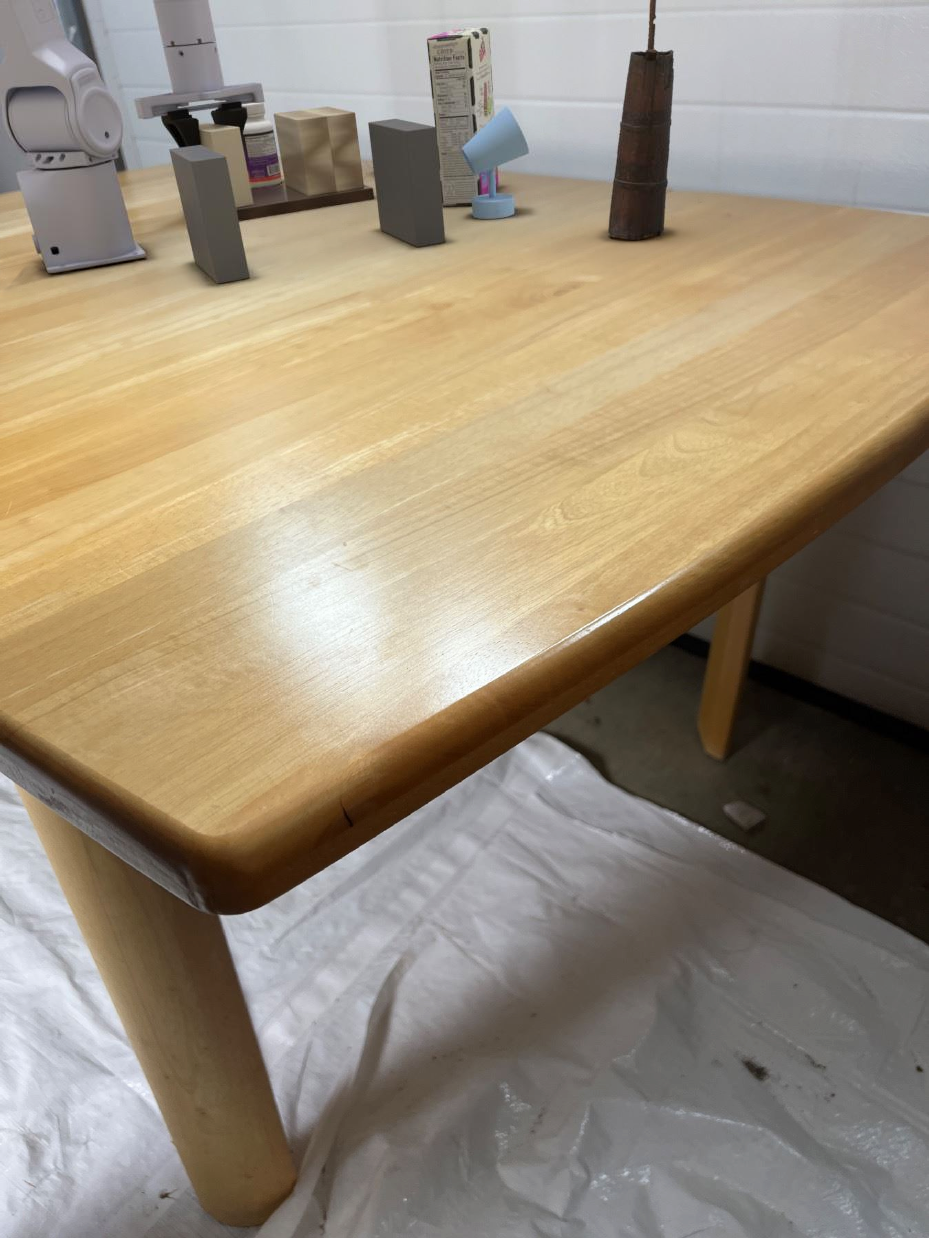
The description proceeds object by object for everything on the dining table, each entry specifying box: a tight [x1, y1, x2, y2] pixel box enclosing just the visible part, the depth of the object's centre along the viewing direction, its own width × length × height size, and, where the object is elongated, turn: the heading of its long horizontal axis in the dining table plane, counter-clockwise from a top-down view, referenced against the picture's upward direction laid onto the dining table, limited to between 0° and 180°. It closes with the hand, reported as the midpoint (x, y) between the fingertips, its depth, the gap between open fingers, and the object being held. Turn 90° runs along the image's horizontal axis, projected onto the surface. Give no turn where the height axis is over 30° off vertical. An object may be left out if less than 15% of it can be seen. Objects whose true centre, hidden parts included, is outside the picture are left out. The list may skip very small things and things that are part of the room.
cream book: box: [199, 121, 254, 208], centre depth 108 cm, size 4×10×8 cm, turn 36°
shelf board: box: [236, 106, 375, 221], centre depth 110 cm, size 20×12×9 cm, turn 115°
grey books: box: [169, 118, 446, 285], centre depth 87 cm, size 22×10×10 cm, turn 115°
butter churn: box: [607, 0, 675, 240], centre depth 78 cm, size 9×10×28 cm
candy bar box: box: [426, 26, 500, 207], centre depth 103 cm, size 11×5×16 cm, turn 168°
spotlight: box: [461, 105, 530, 220], centre depth 96 cm, size 5×10×7 cm
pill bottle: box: [242, 102, 283, 189], centre depth 123 cm, size 5×5×10 cm
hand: (217, 180), depth 108 cm, fingers closed on cream book, 3 cm apart
